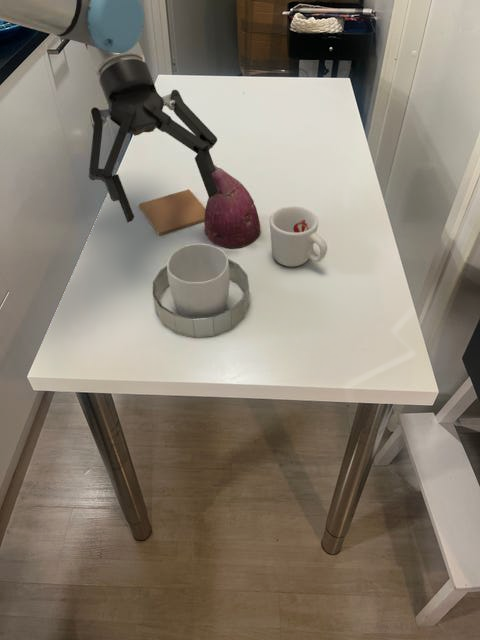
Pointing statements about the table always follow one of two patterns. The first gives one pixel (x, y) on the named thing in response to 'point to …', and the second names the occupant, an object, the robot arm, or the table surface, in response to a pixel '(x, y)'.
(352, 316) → the table surface
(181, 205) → the mat
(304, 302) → the table surface
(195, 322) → the ring
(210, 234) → the vegetable
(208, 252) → the mug
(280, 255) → the cup
